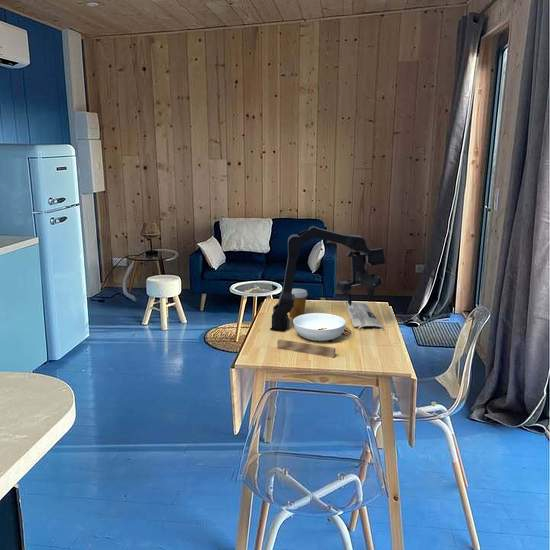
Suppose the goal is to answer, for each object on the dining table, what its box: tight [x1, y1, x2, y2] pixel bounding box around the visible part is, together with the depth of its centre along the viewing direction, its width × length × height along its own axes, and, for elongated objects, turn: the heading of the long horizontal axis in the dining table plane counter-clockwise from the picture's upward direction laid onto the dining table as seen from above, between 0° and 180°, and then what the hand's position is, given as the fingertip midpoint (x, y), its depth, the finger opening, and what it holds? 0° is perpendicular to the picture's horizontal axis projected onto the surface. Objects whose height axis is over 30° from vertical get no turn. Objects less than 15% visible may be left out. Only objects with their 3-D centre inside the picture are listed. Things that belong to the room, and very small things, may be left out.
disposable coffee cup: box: [288, 288, 309, 320], centre depth 233 cm, size 10×10×12 cm
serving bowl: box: [292, 312, 347, 342], centre depth 208 cm, size 21×21×7 cm
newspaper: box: [344, 300, 385, 331], centre depth 234 cm, size 35×12×4 cm, turn 2°
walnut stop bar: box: [277, 339, 336, 359], centre depth 192 cm, size 22×2×3 cm, turn 66°
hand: (360, 303), depth 215 cm, fingers open, 9 cm apart
